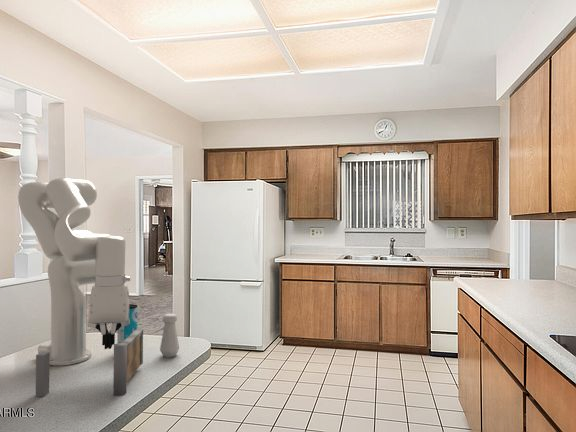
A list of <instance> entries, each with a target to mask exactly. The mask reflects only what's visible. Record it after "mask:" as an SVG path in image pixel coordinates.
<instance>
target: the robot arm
mask: <svg viewBox="0 0 576 432" xmlns="http://www.w3.org/2000/svg"><path fill="white" fill-rule="evenodd" d="M97 197H98V192H97V188H96V187H95V185H94V184H93V183H92V182H91V181H89V180H87V179H78V178H68V177H64V178H63V177H61V178H60V177H59V178H54V179H52V180H50V181H49V182H48V181H47V182H46V181H33V182H32V181H31V182H27V183H25V184H23V185H22V186H21V187H20V188H19V191H18V196H17V199H18V206H19V210H20V211H21V214H22V215H23V217H24V219H25V220H26V221H27V223H28V224H29V226H31V227H32V229H33V231H34V233H35V236H36V238H37V240H38V242H39V245H40V247H41V249H42V252H43V253H44V255H45V256H46V257H47V258H48V259H50V260H51V261H50V262H49V264H48V265H47V276H48V281H49V282H48V283H49V288H50V343H49V345H46V344H44V345H43V344H40V345H38V348H37V354H39V353H41V352H50V365H51V366H68V365H70V366H71V365H76V364H78V363H81V362H85V361H87V360H89V359H90V358H91V357H92V351H91V350H89V349H86V348H87V328H91V329H96V330H97V331H98V332H100V334H101V335H102V337H101V341H102V342H101V343H102V346H104V350H107V349H108V350H111V349H112V348H113V346H114V344H116V333H117V330H118V329H119V328H120V327H124V326H128V325H129V324H130V321H129V304H130V292H129V286H128V284H126V283H128V282H131V276H128V275H126V271H125V270H126V240H125V238H124V237H123V236H120V235H119V236H118V235H112V234H109V233H93V232H92V231H89V230H87V229H75V228H78V227H79V226H81V225H83V224H84V223H86V222H87V221H88V220H89V218H90V216H91V207H89V206H92V205H93V204H95V202H96V200H97ZM50 209H54V210H55V212H53V211H52V210H50ZM93 284H94V285H93ZM83 285H93V286H92V287H91V290H90V296H89V304H88V315H87V298H86V296H85V295H84V293H83V292H82V291H81V289H80V288H79V286H83ZM87 316H88V318H87ZM87 319H88V323H87ZM107 324H111V326H110V327H111V328H110V330H108V327H107V326H108V325H107Z"/></svg>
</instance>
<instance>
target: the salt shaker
mask: <svg viewBox="0 0 576 432" xmlns="http://www.w3.org/2000/svg"><path fill="white" fill-rule="evenodd" d="M177 318H178V316H177V314H176V313H166V314H164V315H163V316H162V323H164V326H163V333H162V336H161V341H160V347H159V351H160V353H161V355H162V357H163V358H166V359H168V358H175V357H176V356H177V354H178V352H179V349H180V344H179V337H178V331H177V327H176V322H177V320H178V319H177Z"/></svg>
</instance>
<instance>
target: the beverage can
mask: <svg viewBox="0 0 576 432" xmlns="http://www.w3.org/2000/svg"><path fill="white" fill-rule="evenodd" d="M129 321H130V324H129V325H128V326H124V327H120V328H119V329H118V330H117V331H116V334H117V336H116V337H117V343H122V342H123V341H124V340H125V339H126V338H127V337H129V336H130V335H131V334H132V333H133V332H134V331H135V330H138V305H137V304H133V303H129ZM117 343H116V344H117Z"/></svg>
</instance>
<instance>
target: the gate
mask: <svg viewBox="0 0 576 432" xmlns="http://www.w3.org/2000/svg"><path fill="white" fill-rule="evenodd" d="M122 343H127V382H129V380H130V379H131V378H132V377H133V375H134V374H135V373H136V372H137V370H138V369H139V367H141V366H142V365H143V363H144V361H143V359H144V329H143V328H142V329H137V330H135V331H134V332H133V333H132V334H131V335H130V336H129V337H127V338H126V339H125V340H124V341H123V342H122Z"/></svg>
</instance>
